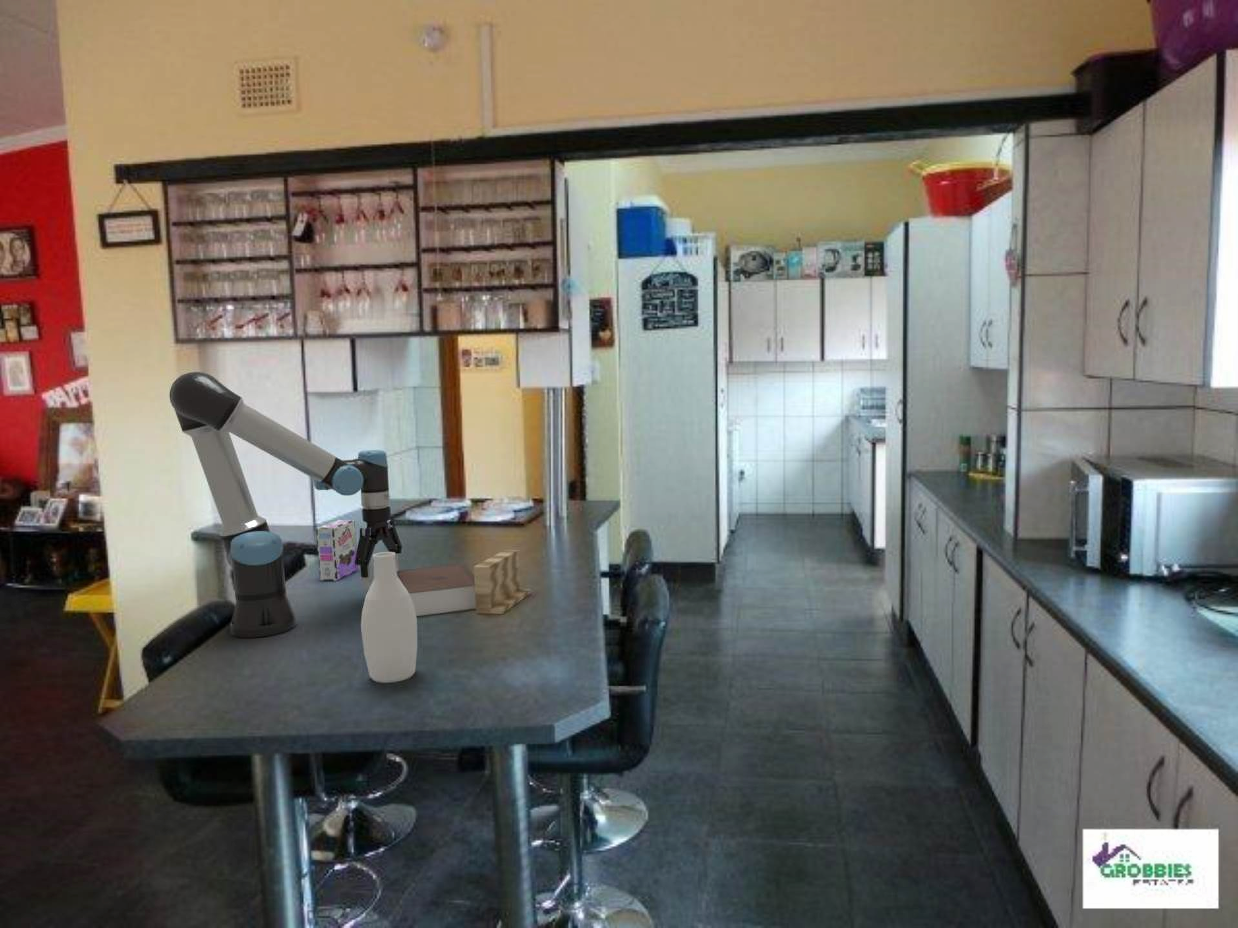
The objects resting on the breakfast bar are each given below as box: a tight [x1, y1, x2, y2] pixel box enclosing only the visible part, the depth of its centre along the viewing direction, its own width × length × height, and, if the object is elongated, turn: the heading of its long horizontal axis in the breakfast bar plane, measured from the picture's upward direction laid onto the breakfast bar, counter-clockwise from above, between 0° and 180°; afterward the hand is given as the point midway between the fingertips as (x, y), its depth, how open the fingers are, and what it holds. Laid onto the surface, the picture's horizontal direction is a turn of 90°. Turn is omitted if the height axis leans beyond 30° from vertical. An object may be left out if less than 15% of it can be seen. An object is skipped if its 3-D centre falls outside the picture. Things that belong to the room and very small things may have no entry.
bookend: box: [473, 549, 532, 615], centre depth 235 cm, size 20×7×12 cm, turn 164°
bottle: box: [360, 551, 418, 684], centre depth 182 cm, size 11×11×25 cm
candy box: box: [315, 519, 359, 582], centre depth 274 cm, size 14×6×16 cm, turn 168°
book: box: [397, 562, 476, 617], centre depth 241 cm, size 24×28×6 cm
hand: (381, 582), depth 247 cm, fingers open, 13 cm apart
